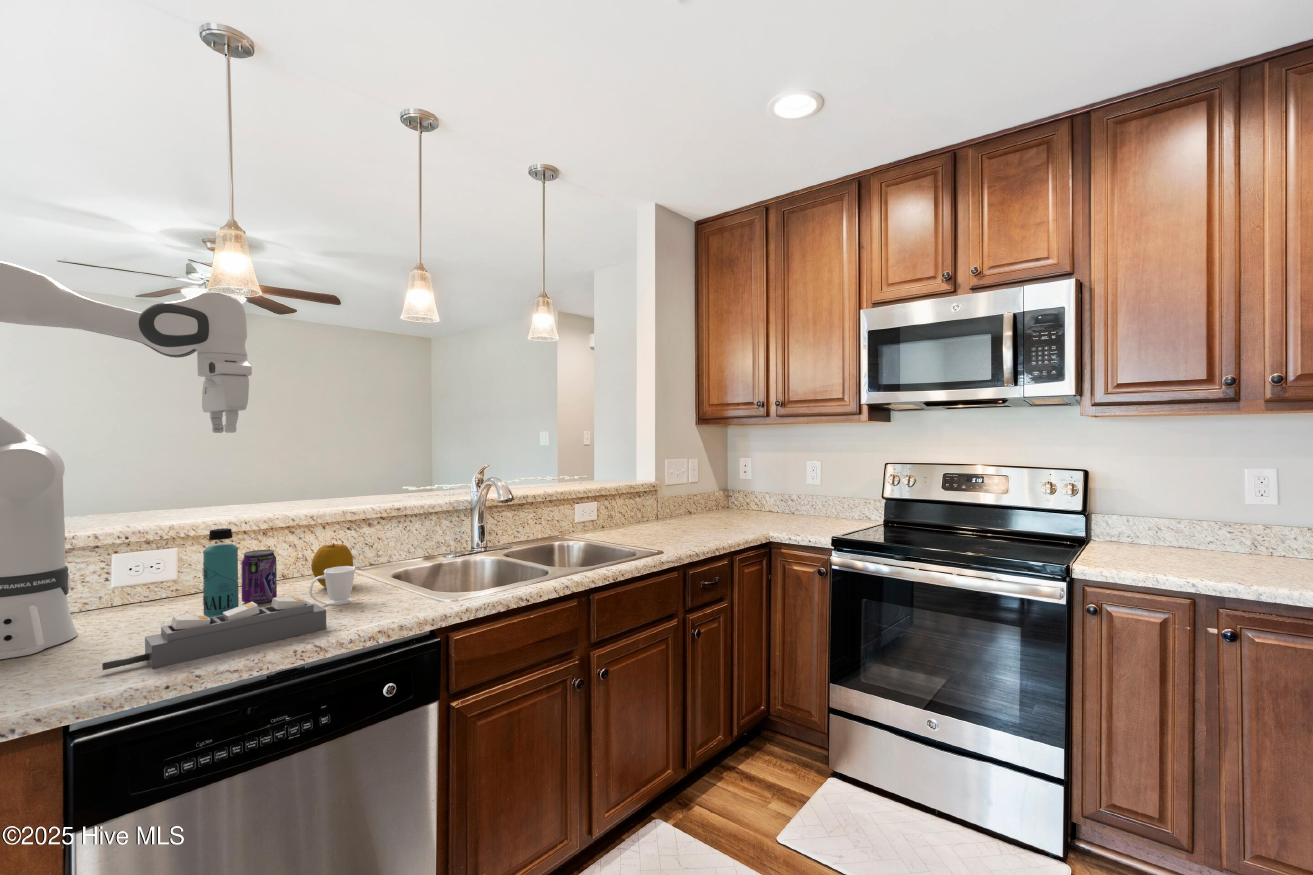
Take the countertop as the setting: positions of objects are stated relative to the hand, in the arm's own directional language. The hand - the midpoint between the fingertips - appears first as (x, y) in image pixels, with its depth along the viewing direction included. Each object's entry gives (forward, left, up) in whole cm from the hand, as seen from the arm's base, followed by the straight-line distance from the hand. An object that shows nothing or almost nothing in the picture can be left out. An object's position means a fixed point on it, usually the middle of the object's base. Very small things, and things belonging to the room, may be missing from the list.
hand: (224, 432), depth 131 cm
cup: (+20, -4, -41) cm, 46 cm away
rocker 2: (-2, -19, -35) cm, 40 cm away
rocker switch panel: (-5, -19, -41) cm, 45 cm away
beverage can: (+9, +12, -41) cm, 44 cm away
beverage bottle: (-1, +1, -41) cm, 41 cm away
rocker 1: (-10, -19, -35) cm, 41 cm away
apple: (+26, +13, -41) cm, 50 cm away
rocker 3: (+6, -19, -35) cm, 41 cm away
